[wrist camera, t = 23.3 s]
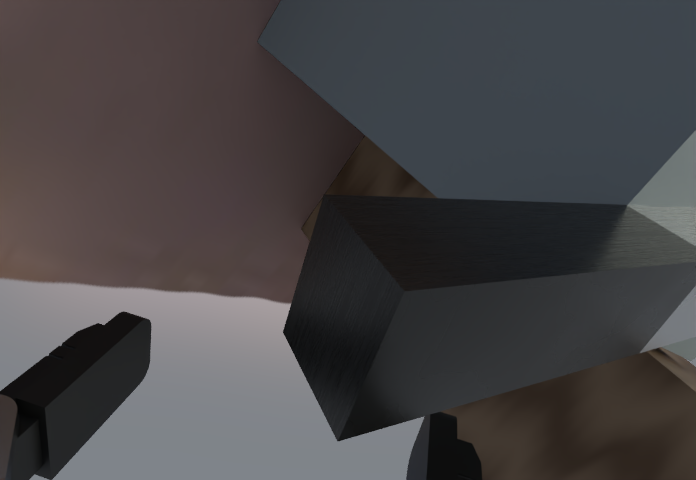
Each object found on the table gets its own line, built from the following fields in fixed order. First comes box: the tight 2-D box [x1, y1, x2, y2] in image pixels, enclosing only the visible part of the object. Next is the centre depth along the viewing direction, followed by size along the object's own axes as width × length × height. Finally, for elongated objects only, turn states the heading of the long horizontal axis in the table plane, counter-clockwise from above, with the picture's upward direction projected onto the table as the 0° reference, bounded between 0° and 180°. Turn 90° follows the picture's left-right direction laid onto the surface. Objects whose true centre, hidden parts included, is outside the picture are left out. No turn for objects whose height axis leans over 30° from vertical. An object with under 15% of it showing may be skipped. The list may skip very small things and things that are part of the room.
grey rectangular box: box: [257, 0, 696, 361], centre depth 27 cm, size 10×20×26 cm, turn 51°
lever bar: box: [283, 194, 696, 441], centre depth 14 cm, size 3×24×2 cm, turn 71°
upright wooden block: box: [302, 136, 696, 480], centre depth 35 cm, size 11×16×32 cm
